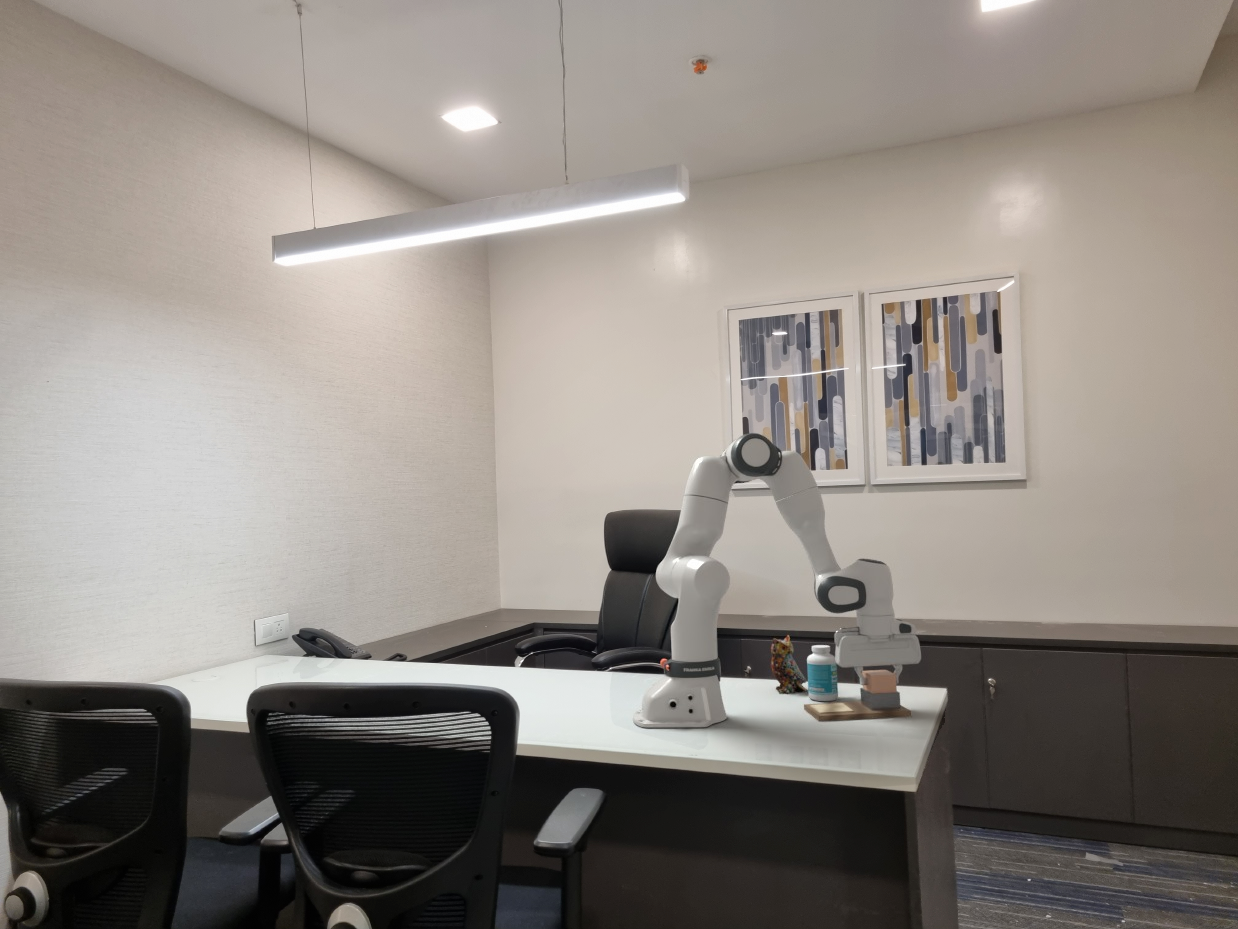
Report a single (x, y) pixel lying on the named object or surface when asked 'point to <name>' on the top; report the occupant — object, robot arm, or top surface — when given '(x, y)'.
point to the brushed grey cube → (880, 700)
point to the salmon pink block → (880, 681)
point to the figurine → (786, 667)
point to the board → (851, 711)
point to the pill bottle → (822, 674)
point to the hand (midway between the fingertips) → (879, 684)
